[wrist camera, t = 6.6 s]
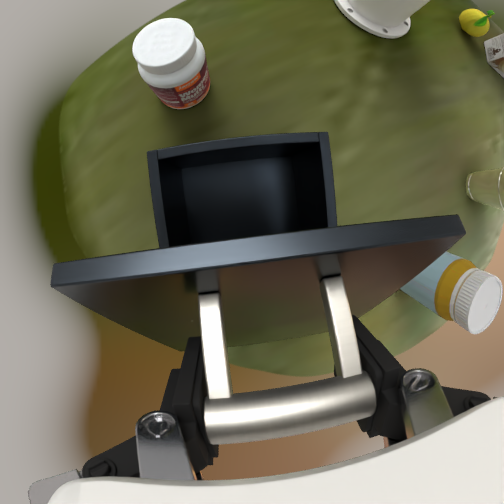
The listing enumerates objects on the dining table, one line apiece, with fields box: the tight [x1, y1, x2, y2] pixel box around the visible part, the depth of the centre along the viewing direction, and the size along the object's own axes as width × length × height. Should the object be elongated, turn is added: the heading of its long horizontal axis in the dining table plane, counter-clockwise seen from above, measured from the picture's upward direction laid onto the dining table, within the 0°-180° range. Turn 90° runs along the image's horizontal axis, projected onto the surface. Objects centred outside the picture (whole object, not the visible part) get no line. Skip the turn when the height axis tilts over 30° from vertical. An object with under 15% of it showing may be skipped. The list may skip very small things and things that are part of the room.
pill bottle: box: [132, 18, 210, 109], centre depth 22 cm, size 6×6×11 cm
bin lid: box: [50, 214, 466, 445], centre depth 14 cm, size 16×14×6 cm
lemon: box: [459, 9, 494, 37], centre depth 21 cm, size 7×6×10 cm
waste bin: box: [147, 132, 337, 248], centre depth 26 cm, size 16×14×11 cm
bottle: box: [400, 252, 502, 334], centre depth 27 cm, size 7×7×15 cm
